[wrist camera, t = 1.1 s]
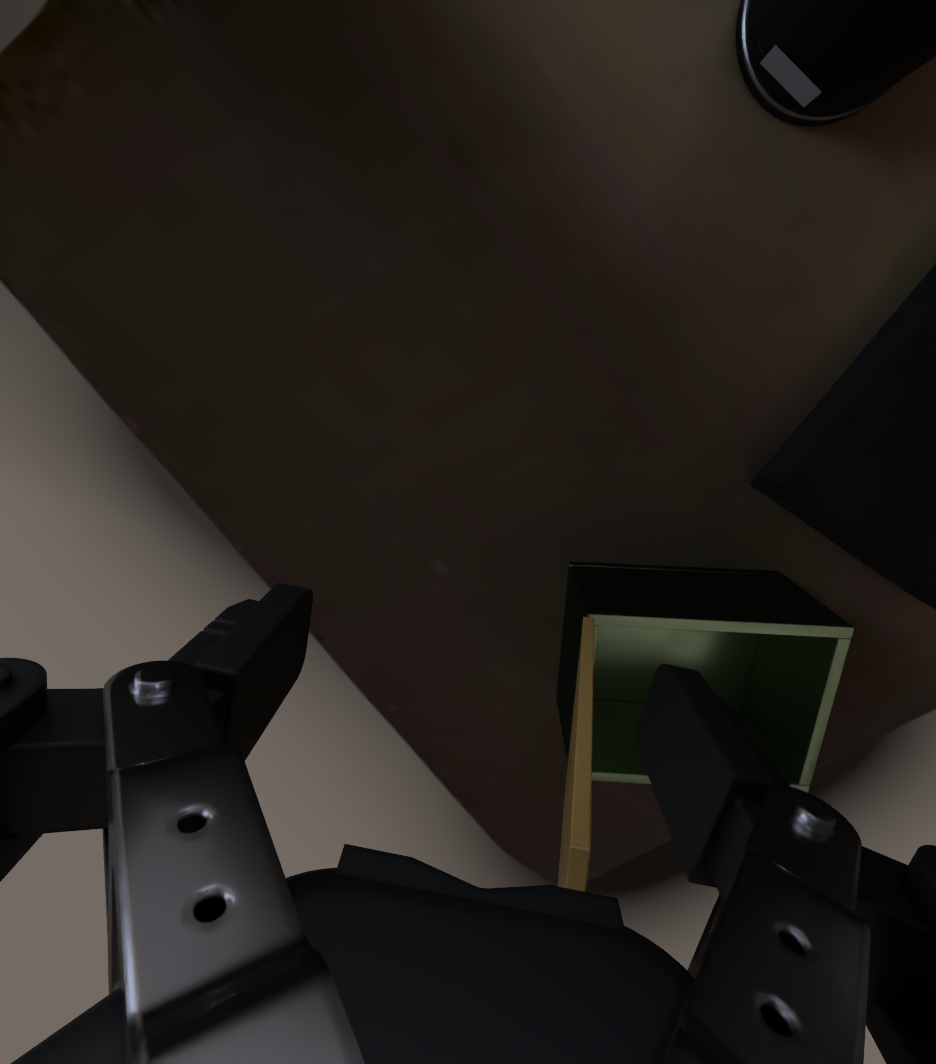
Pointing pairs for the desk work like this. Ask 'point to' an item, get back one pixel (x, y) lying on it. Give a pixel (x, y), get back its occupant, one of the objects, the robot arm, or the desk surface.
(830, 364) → the desk surface
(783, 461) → the external hard drive
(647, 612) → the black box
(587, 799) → the tin lid
